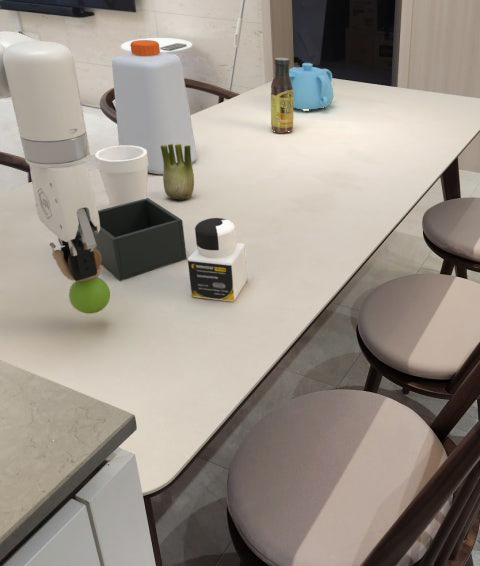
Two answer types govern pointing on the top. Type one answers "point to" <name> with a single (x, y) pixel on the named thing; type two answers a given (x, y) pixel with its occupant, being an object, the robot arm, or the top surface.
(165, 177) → the fennel bulb
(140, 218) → the bin
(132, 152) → the foam cup
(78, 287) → the snail figurine
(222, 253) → the medicine bottle
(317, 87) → the decorative pot
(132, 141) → the plastic bottle
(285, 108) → the sauce bottle
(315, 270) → the top surface
